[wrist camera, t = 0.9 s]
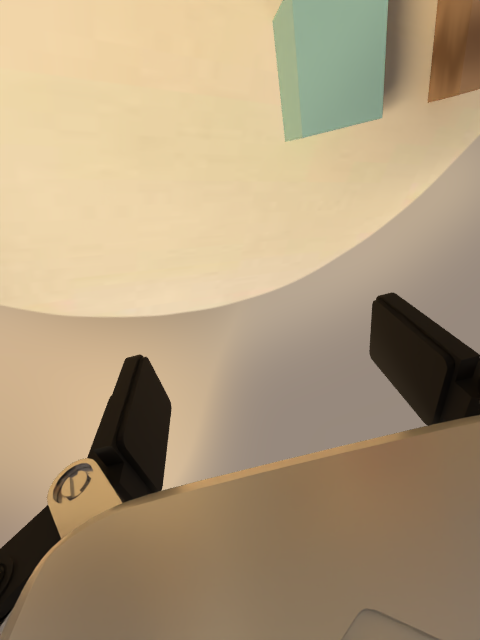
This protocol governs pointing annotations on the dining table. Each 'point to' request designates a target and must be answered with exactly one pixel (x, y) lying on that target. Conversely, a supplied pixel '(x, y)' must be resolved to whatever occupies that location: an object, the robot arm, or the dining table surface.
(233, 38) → the dining table surface
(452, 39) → the batten
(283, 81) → the block
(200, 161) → the dining table surface
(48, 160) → the dining table surface
